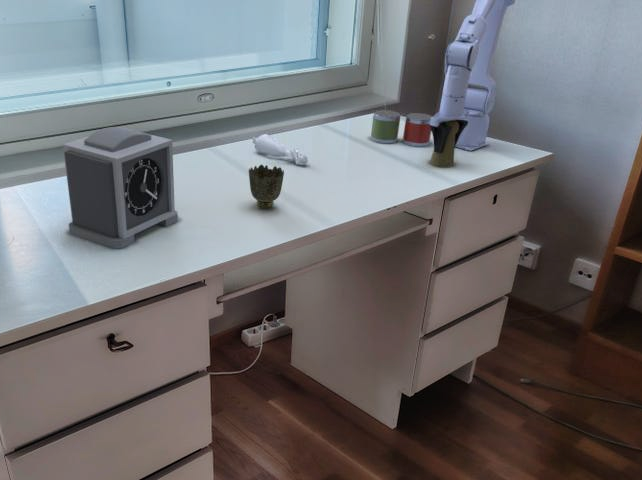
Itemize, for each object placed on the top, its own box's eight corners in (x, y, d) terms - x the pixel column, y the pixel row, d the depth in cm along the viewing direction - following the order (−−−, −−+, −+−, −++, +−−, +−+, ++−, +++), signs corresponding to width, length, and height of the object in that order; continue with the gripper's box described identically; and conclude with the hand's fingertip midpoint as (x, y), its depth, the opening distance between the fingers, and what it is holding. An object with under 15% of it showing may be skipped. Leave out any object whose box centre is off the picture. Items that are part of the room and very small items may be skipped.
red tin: (406, 137, 197) (410, 111, 193) (432, 141, 194) (436, 115, 190) (399, 143, 191) (403, 117, 187) (425, 148, 189) (429, 121, 185)
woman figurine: (272, 127, 182) (323, 148, 173) (271, 144, 185) (320, 165, 175) (240, 135, 175) (291, 157, 166) (239, 152, 178) (289, 175, 168)
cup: (286, 203, 149) (288, 167, 145) (275, 215, 143) (277, 177, 139) (254, 198, 151) (255, 162, 147) (242, 209, 145) (243, 172, 141)
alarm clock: (118, 250, 126) (109, 150, 116) (66, 232, 132) (53, 135, 121) (180, 219, 139) (177, 127, 129) (131, 204, 145) (124, 115, 135)
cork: (455, 167, 175) (464, 123, 169) (432, 166, 175) (439, 122, 169) (451, 160, 180) (459, 117, 174) (428, 159, 180) (435, 116, 174)
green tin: (392, 135, 198) (395, 110, 194) (400, 143, 191) (404, 117, 187) (367, 135, 196) (370, 110, 192) (374, 143, 190) (378, 117, 186)
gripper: (451, 102, 162) (441, 159, 169) (483, 94, 170) (472, 149, 178) (426, 96, 166) (417, 152, 173) (459, 88, 175) (449, 142, 182)
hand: (444, 150), depth 176 cm, fingers closed on cork, 5 cm apart
